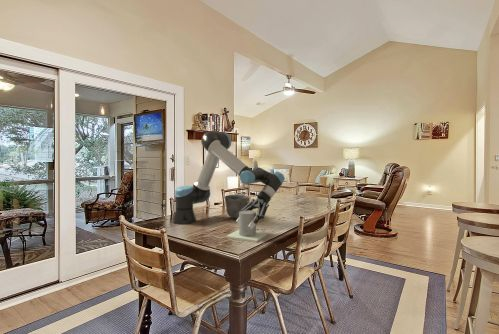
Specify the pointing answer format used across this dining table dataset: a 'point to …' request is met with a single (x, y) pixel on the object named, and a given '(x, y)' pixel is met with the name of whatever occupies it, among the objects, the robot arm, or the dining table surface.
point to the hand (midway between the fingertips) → (243, 225)
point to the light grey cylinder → (246, 223)
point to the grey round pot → (235, 204)
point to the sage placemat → (255, 238)
